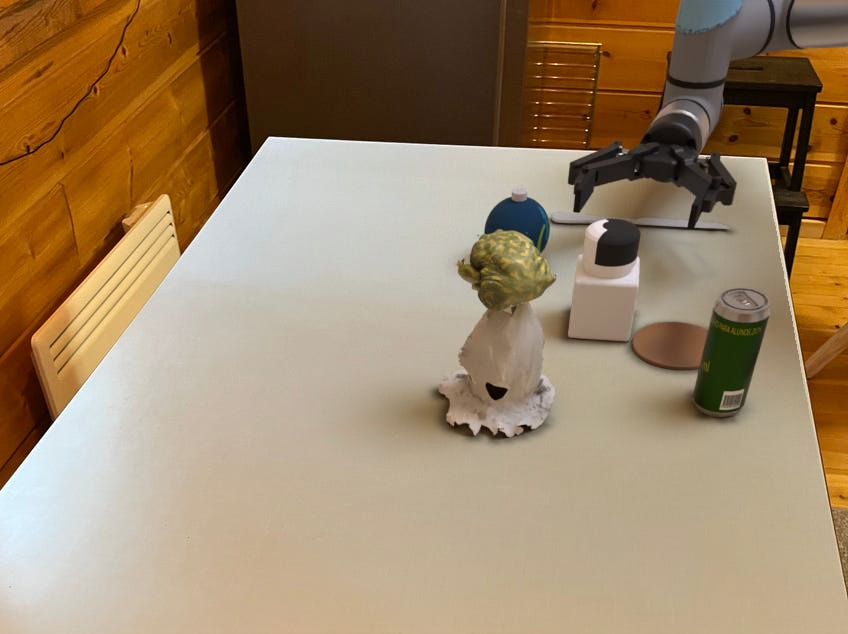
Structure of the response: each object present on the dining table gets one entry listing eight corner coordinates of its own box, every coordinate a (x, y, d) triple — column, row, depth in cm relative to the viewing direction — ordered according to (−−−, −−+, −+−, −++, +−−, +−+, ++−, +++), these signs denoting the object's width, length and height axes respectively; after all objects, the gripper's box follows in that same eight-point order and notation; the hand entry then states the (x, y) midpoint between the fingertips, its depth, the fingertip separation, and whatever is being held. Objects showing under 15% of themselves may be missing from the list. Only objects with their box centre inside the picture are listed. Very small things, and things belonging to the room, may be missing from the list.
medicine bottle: (630, 312, 117) (647, 213, 108) (629, 342, 112) (646, 241, 103) (571, 308, 118) (583, 210, 109) (567, 338, 113) (579, 238, 105)
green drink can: (753, 411, 102) (784, 305, 93) (710, 423, 101) (737, 317, 92) (724, 386, 105) (751, 281, 96) (681, 397, 104) (704, 293, 95)
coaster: (704, 321, 115) (704, 318, 114) (734, 365, 108) (734, 362, 108) (621, 328, 114) (622, 325, 114) (646, 373, 108) (647, 370, 107)
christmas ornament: (516, 284, 123) (522, 205, 116) (469, 263, 127) (472, 186, 120) (560, 262, 126) (568, 184, 119) (513, 242, 131) (518, 166, 124)
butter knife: (552, 210, 136) (550, 219, 134) (729, 220, 131) (729, 230, 129) (552, 213, 136) (550, 222, 134) (728, 224, 132) (728, 233, 130)
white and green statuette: (539, 367, 109) (555, 204, 96) (565, 431, 101) (586, 261, 87) (435, 376, 109) (437, 213, 96) (453, 441, 100) (457, 272, 87)
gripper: (764, 184, 124) (735, 256, 111) (576, 161, 132) (529, 225, 119) (780, 122, 119) (751, 190, 106) (583, 102, 127) (534, 162, 114)
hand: (633, 209), depth 113 cm, fingers open, 13 cm apart
